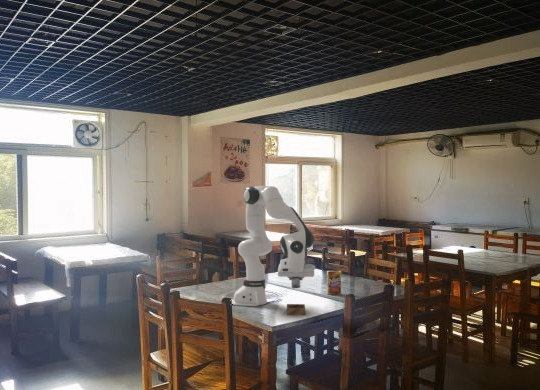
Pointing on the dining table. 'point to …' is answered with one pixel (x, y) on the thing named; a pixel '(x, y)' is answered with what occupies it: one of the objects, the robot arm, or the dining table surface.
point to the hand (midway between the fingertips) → (295, 279)
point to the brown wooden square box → (295, 309)
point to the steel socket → (295, 282)
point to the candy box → (333, 282)
